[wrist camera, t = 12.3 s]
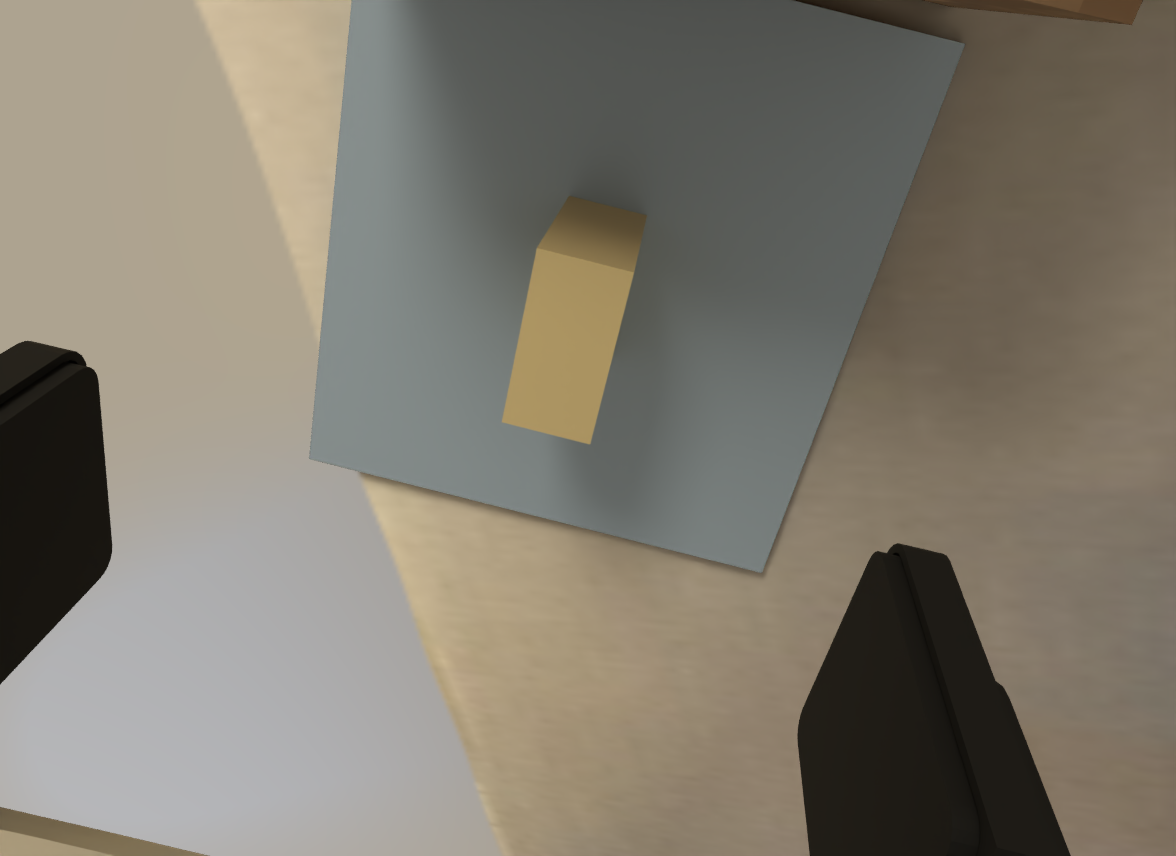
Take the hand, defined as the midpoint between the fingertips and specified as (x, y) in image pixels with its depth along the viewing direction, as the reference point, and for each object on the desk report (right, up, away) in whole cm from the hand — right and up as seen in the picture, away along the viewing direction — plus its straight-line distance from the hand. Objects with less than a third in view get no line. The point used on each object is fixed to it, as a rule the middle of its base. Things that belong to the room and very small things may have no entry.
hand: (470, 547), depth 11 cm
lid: (+2, +6, +13) cm, 15 cm away
